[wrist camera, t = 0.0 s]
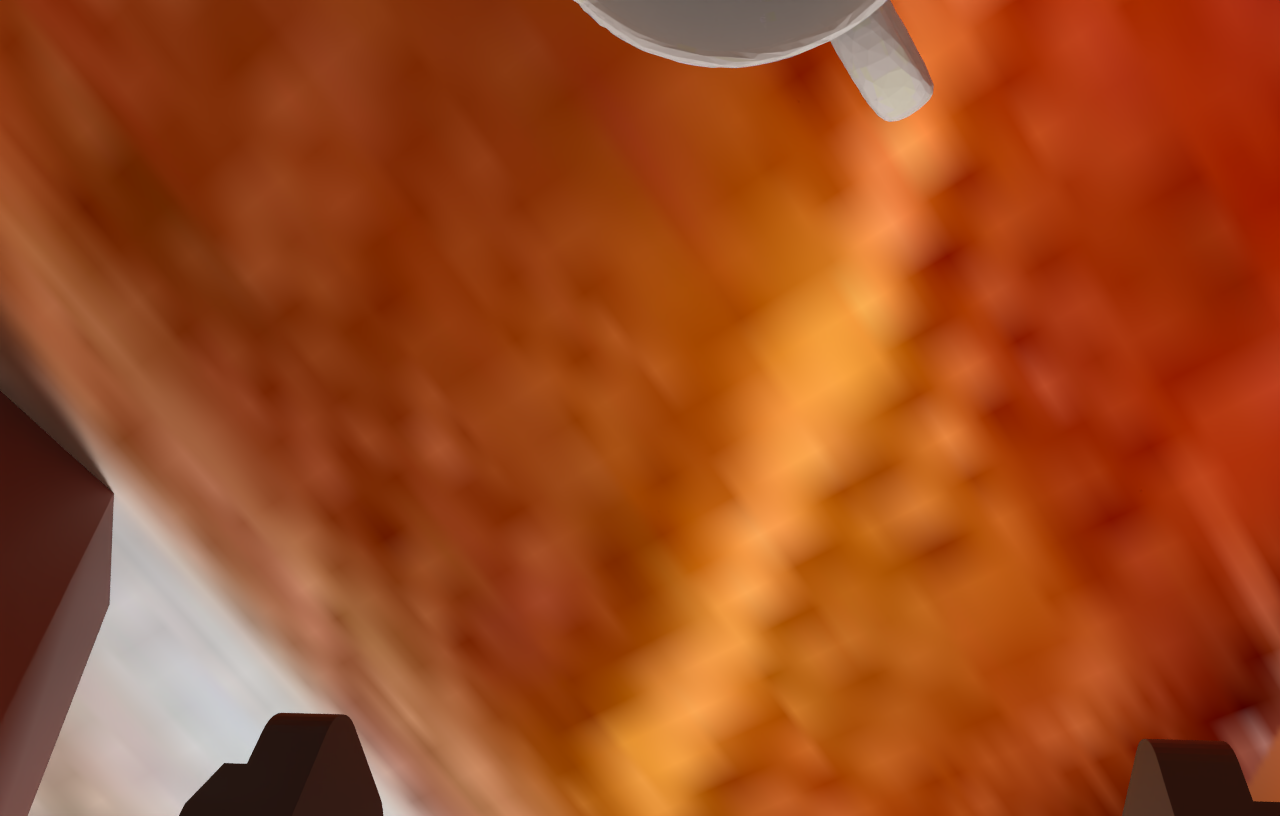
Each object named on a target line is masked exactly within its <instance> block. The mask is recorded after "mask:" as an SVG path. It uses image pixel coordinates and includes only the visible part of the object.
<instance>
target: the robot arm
mask: <svg viewBox="0 0 1280 816" xmlns="http://www.w3.org/2000/svg"><path fill="white" fill-rule="evenodd" d="M179 816H383V808H382V802H381V799H380V796H379V793H378V790H377V788H376V785H375V782H374V779H373V776H372V774H371V771H370V768H369V765H368V763H367V760H366V757H365V754H364V752H363V749H362V746H361V743H360V740H359V738H358V735H357V732H356V729H355V727H354V724H353V722H352V720H351V719H350V718H349V717H348V716H347V715H342V714H304V713H278V714H276V715H274V716H273V717H272V718H271V719H270V720H269V721H268V723H267V724H266V726H265V728H264V729H263V731H262V733H261V735H260V738H259V740H258V742H257V744H256V746H255V748H254V750H253V752H252V754H251V757H250V759H249V761H248V763H247V764H233V763H224V764H223V765H222V766H221V767H220V768H219V769H218V770H217V771H216V772H215V773H214V774H213V775H212V776H211V777H210V779H209V780H208V781H207V782H206V783H205V784H204V785H203V786H202V787H201V788H200V789H199V790H198V791H197V792H196V793H195V794H194V795H193V796H192V797H191V798H190V799H189V800H188V801H187V802H186V803H185V805H184V807H183V809H182V811H181V813H180V815H179ZM1122 816H1280V802H1256V801H1253V800H1252V797H1251V794H1250V792H1249V789H1248V786H1247V783H1246V781H1245V778H1244V775H1243V773H1242V770H1241V767H1240V764H1239V762H1238V759H1237V757H1236V755H1235V753H1234V751H1233V749H1232V748H1231V747H1230V745H1229V744H1227V743H1226V742H1224V741H1203V740H1166V739H1143V740H1141V741H1140V743H1139V745H1138V748H1137V751H1136V756H1135V761H1134V765H1133V770H1132V774H1131V779H1130V783H1129V788H1128V792H1127V797H1126V801H1125V806H1124V810H1123V815H1122Z"/></svg>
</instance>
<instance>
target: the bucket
mask: <svg viewBox="0 0 1280 816" xmlns="http://www.w3.org/2000/svg"><path fill="white" fill-rule="evenodd" d="M113 502H114V493H113V492H112V491H110V490H109V489H108V488H107V487H106V486H105V485H104V484H103V483H102V482H100V481H99V480H98V479H97V478H96V477H95V476H94V475H93V474H92V473H91V472H89V471H88V470H87V469H86V468H85V467H84V466H83V465H82V464H81V463H79V462H78V461H77V460H76V459H75V458H74V457H73V456H72V455H71V454H70V453H68V452H67V451H66V450H65V449H64V448H63V447H62V446H61V445H60V444H58V443H57V442H56V441H55V440H54V439H53V438H52V437H51V436H50V435H48V434H47V433H46V432H45V431H44V430H43V429H42V428H41V427H40V426H39V425H37V424H36V423H35V422H34V421H33V420H32V419H31V418H30V417H29V416H27V415H26V414H25V413H24V412H23V411H22V410H21V409H20V408H19V407H17V406H16V405H15V404H14V403H13V402H12V401H11V400H10V399H9V398H8V397H6V396H5V395H4V394H3V393H2V392H1V391H0V816H28V813H29V811H30V808H31V805H32V803H33V800H34V798H35V795H36V793H37V790H38V787H39V785H40V782H41V780H42V777H43V774H44V772H45V769H46V767H47V764H48V762H49V759H50V756H51V754H52V751H53V749H54V746H55V743H56V741H57V738H58V736H59V733H60V731H61V728H62V725H63V723H64V720H65V718H66V715H67V712H68V710H69V707H70V705H71V702H72V699H73V697H74V694H75V692H76V689H77V687H78V684H79V681H80V679H81V676H82V674H83V671H84V668H85V666H86V663H87V661H88V658H89V656H90V653H91V650H92V648H93V645H94V643H95V640H96V637H97V635H98V632H99V630H100V627H101V624H102V622H103V619H104V617H105V614H106V612H107V609H108V606H109V601H110V576H111V552H112V527H113Z"/></svg>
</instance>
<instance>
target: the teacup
mask: <svg viewBox="0 0 1280 816" xmlns="http://www.w3.org/2000/svg"><path fill="white" fill-rule="evenodd" d="M574 1H576V2H577V3H578V4H579V5H580V6H581V8H582V9H583V10H584V11H585V12H586V13H588V14H589V15H590V16H591V17H592V18H593V19H594V20H595V21H596V22H597V23H598V24H599V25H600V26H603V27H605V28H607V29H608V30H609V31H610V32H611V33H612V34H614V35H615V36H617V37H619V38H620V39H622V40H623V41H625V42H627V43H629V44H631V45H633V46H635V47H637V48H638V49H640V50H642V51H645V52H648V53H651V54H654V55H658V56H661V57H664V58H668V59H671V60H674V61H677V62H679V63H684V64H689V65H695V66H703V67H711V68H716V67H726V68H740V67H748V66H755V65H760V64H766V63H771V62H775V61H779V60H782V59H786V58H789V57H792V56H795V55H797V54H800V53H803V52H805V51H807V50H810V49H812V48H814V47H817V46H819V45H821V44H824V43H826V42H829V41H831V43H832V45H833V47H834V49H835V51H836V53H837V54H838V56H839V57H840V59H841V61H842V62H843V64H844V66H845V68H846V69H847V71H848V73H849V75H850V76H851V78H852V80H853V81H854V83H855V84H856V86H857V87H858V89H859V91H860V92H861V94H862V96H863V97H864V99H865V100H866V102H867V103H868V104H869V105H870V107H871V108H872V109H873V110H874V111H875V113H876V114H877V115H878V116H879V117H881V118H882V119H884V120H885V121H889V122H891V121H898V120H901V119H903V118H906V117H908V116H910V115H911V114H913V113H914V112H916V111H917V110H918V109H920V108H921V107H922V106H923V105H924V104H926V102H927V101H928V100H929V99H930V98H931V96H932V94H933V82H932V80H931V78H930V75H929V73H928V70H927V68H926V66H925V63H924V61H923V60H922V58H921V56H920V54H919V52H918V50H917V49H916V47H915V45H914V43H913V41H912V39H911V37H910V35H909V33H908V31H907V29H906V27H905V26H904V24H903V22H902V21H901V19H900V18H899V16H898V14H897V13H896V11H895V9H894V7H893V5H892V3H891V1H890V0H574Z"/></svg>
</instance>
